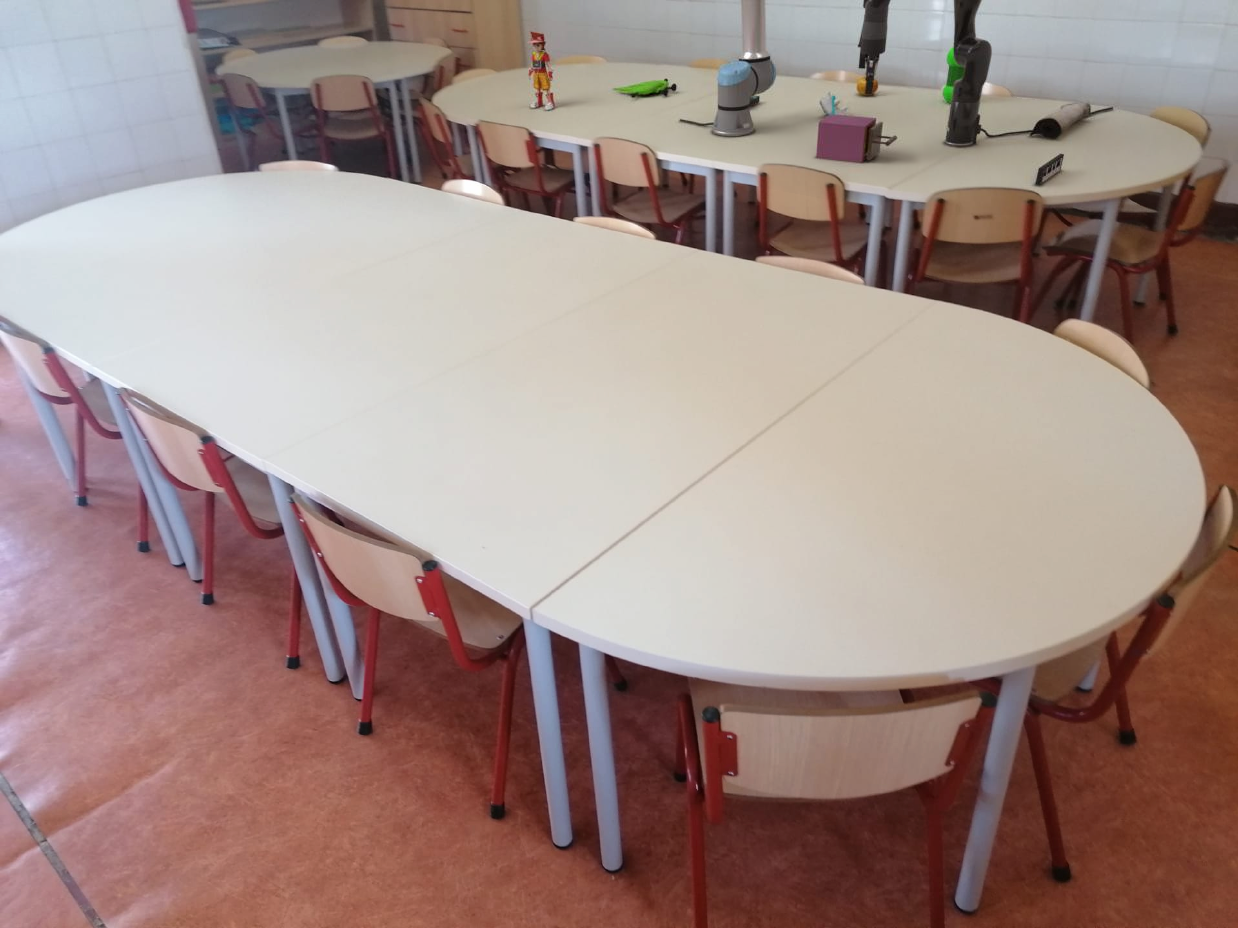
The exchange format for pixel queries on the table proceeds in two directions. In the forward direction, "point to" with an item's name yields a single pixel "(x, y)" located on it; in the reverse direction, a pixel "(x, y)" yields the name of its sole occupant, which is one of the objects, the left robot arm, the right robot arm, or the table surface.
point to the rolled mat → (1061, 120)
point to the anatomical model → (831, 105)
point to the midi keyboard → (1049, 169)
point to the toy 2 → (648, 88)
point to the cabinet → (842, 137)
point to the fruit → (862, 85)
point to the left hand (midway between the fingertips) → (868, 64)
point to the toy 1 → (541, 71)
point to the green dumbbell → (952, 76)
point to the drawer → (875, 140)
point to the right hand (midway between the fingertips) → (869, 91)
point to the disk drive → (753, 100)
